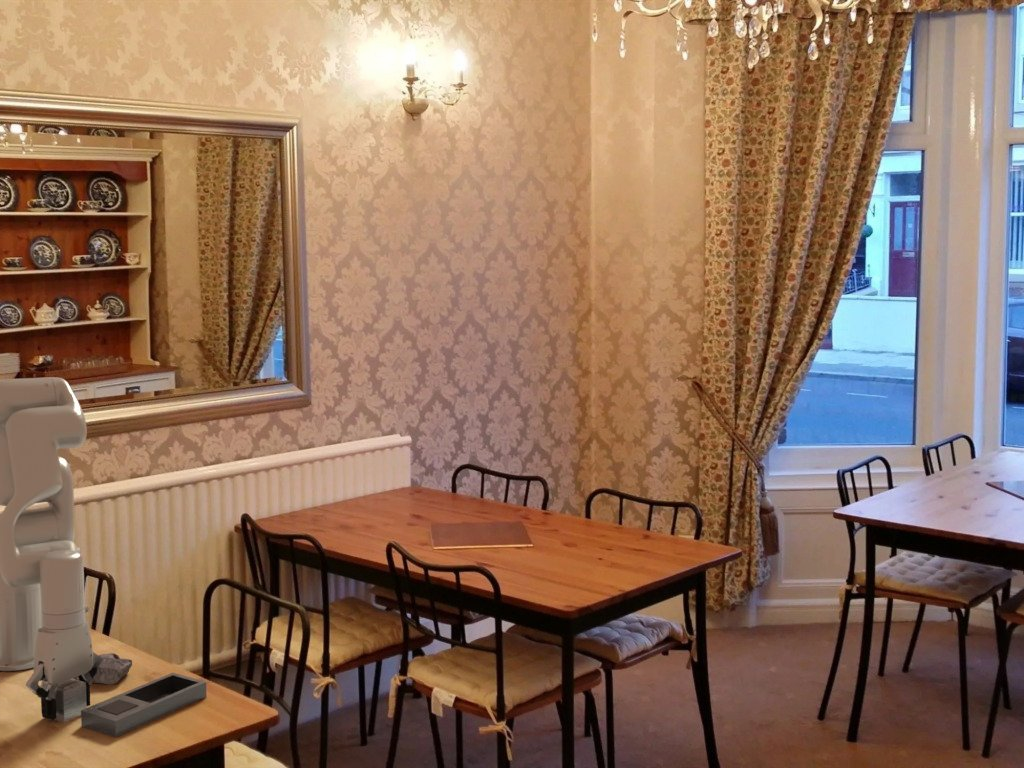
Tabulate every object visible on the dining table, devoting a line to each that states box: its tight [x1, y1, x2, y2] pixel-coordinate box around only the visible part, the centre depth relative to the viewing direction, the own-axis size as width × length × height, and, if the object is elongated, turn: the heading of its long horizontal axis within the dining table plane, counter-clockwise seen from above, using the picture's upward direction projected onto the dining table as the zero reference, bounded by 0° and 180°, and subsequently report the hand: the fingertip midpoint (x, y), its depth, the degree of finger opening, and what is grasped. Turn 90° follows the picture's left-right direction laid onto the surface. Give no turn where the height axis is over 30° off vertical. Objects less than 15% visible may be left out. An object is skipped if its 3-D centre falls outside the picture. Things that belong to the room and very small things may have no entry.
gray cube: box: [46, 678, 88, 723], centre depth 216 cm, size 5×5×6 cm
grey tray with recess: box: [80, 672, 207, 738], centre depth 219 cm, size 9×22×3 cm, turn 150°
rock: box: [72, 652, 133, 686], centre depth 235 cm, size 8×11×5 cm
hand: (66, 710), depth 217 cm, fingers open, 6 cm apart
